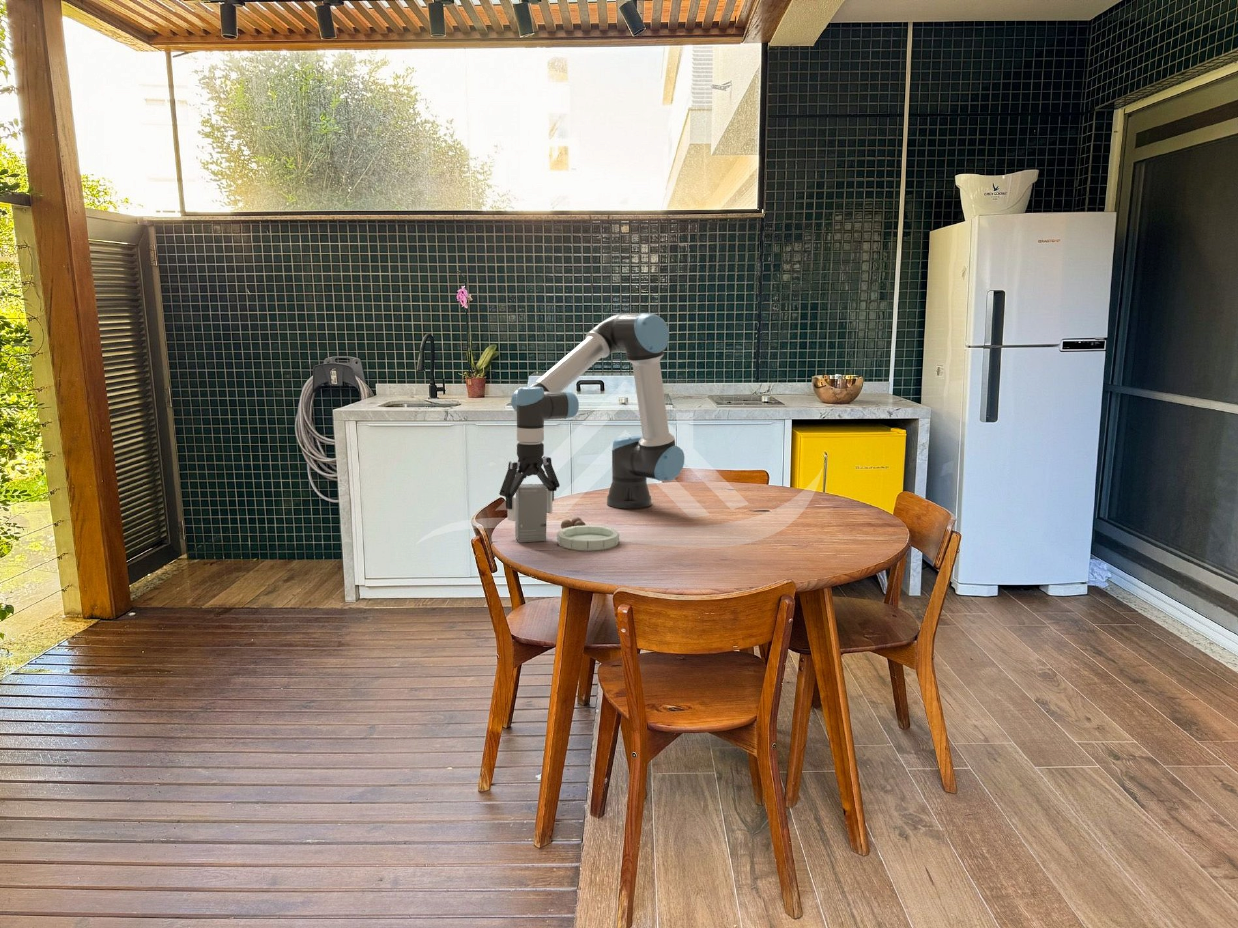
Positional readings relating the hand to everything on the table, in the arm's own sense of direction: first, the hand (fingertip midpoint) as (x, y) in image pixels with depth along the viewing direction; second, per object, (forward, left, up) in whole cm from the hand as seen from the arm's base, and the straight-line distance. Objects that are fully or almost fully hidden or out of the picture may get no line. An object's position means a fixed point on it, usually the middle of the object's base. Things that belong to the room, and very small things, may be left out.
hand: (530, 516), depth 236 cm
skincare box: (0, 0, -7) cm, 7 cm away
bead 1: (-13, +1, -7) cm, 15 cm away
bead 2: (-17, +1, -7) cm, 19 cm away
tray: (-9, +14, -7) cm, 18 cm away
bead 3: (-15, +4, -7) cm, 17 cm away
